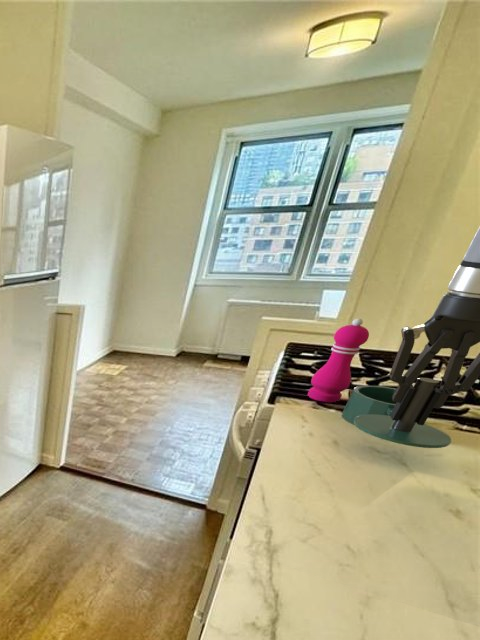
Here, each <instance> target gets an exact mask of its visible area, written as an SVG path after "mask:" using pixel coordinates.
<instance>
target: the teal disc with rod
mask: <svg viewBox="0 0 480 640" xmlns="http://www.w3.org/2000/svg"><path fill="white" fill-rule="evenodd" d="M439 385H440V381H439V380H437V379H433V378H429V377H418V378H417V379H416V380H415V382H414V385H413V387H414V388H415V391H414V393H413V394H412V396H411V398H410V400H409V402H408V403H407V405H406V407H405V409H404V411H403V412H402V414H401V416H400V418H399V420H398V421H395V420H392V418H391V416H387V415H375V414H368V415H360V416H357V417H356V418H355V419H354V424H355V425H354V424H353V425H354V426H355V427H356V428H357V429H359V430H360V431H362V432H364V433H365V434H368V435H370V436H373V437H376V438H377V439H381V440H385V441H387V442H392V443H395V444H399V445H404V446H409V447H414V448H421V449H422V448H424V449H442V448H446V447H448V446H450V445H451V443H452V438H451V436H450V435H448V433H446V432H444V431H442V430H440V429H438V428H436V427H434V426H431V425H428V424H426V423H424V425H418V424H417V423H416V422H417V420H418V419H419V417H420V415H421V413H422V412H423V410H424V408H425V407H426V405H427V403H428V401H429V400H430V398H431V396H432V394H433V393H434V391H435V389H436V388H438V386H439Z"/></svg>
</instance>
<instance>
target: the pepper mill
mask: <svg viewBox="0 0 480 640" xmlns="http://www.w3.org/2000/svg"><path fill="white" fill-rule="evenodd" d="M363 323H364V321H363V319H362V318H354V320H352V322H351V324H347V325H346V324H345V325H343V326H341V327H340V328H338V329H337V330H336V331H335V332H334V335H333V340H334V343H333V344H332V347H331V355H330V356H329V358H328V360H327V362H326V363H325V364H324V365H323V366H322V367H320V368H319V369H318V370H317V371H316V372H314V374H313V376H312V377H311V381H310V383H311V385H312V387H310V388H309V390H308V392H307V397H308V396H309V397H308V398H310V399H311V400H315V401H318V402H321V401H322V403H331V404H334V403H333V402H335V403H337V402H336V401H338V402H340V400H341V398H342V396H343V394H342V393H341V392H343V391H346V390H347V389H348V388H349V387H350V384H351V381H352V374H351V363H352V361H353V359H354V357H355V355H357V354H359V351H360V350H361V346H362V345H364V344H365V343H367V342H368V340H369V337H370V332H369V330H368V329H367V328H366V327H364V326H362V325H363Z"/></svg>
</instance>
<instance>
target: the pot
mask: <svg viewBox="0 0 480 640" xmlns="http://www.w3.org/2000/svg"><path fill="white" fill-rule="evenodd" d="M396 389H397V388H394V387H389V386H384V385H358V386H356V387H354V388H353V389H352V391H351V394H350V396H349V397H348V400H347V402H346V404H345V406H344V408H343V410H342V414H341V417H342V419H343V420H345V421H346V422H348V423H349V424H351V425H353V426H355V424H354V419H355V418H356V417H357V416H360V415H368V414H375V415H387V416H390V414H391V412H392V410H393V408H394V407H395V405H396V403H397V402H394V401H393V399H392V396H393V395H394V393H395V391H396Z"/></svg>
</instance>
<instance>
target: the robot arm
mask: <svg viewBox="0 0 480 640" xmlns="http://www.w3.org/2000/svg"><path fill="white" fill-rule="evenodd" d="M446 288H447V290H449V291H447V292H446V293H444V294H443V295H442V297H441V299H440V300H439V303H438V304H437V306H436V308H435V310H434V312H433V313H432V316H431V317H430V318H429V319H428V320H426V321H425V322H424V323H423V324H421V325H416V326H412V327H410V326H404V327H402V328H401V339H402V340H401V343H400V345H399V348H398V351H397V352H396V353H397V354H396V356H395V358H394V362H393V364H392V367H391V369H390V373H389V374H388V376H389V378H390V380H391V382H393V383H396V384H397V387H396V388H395V389H396V391H395V393H394V395H393V396H392V399H393V401H394V402H397V403H396V405H395V407H394V408H393V410H392V412H391V414H390V416H391V418H392V420H395V421H398V420H399V418H400V416H401V414H402V412H403V411H404V409H405V407H406V405H407V403H408V402H409V400H410V398H411V396H412V394H413V393H414V391H415V388H414V385H413V384H415V383H416V381H417V379H418V378H419V376H421V374H422V373H423V372H424V370H425V369H426V367H428V365H429V364H430V362H431V361H432V360H433V359H434V357H435V356H436V355H438V354H439V353H440V351H441V350H442V349H443V350H445V349H450V350H451V353H450V357H449V359H448V362H447V365H446V368H445V370H444V373H443V375H442V378H441V381H440V383H439V387H437V388H436V389H435V391H434V393H433V394H432V396H431V398H430V400H429V401H428V403H427V405H426V407H425V408H424V410H423V412H422V413H421V415H420V417H419V419H418V420H417V422H416V423H417V424H418V425H424V424H426V421H427V420H428V419H429V416H430V415H431V413H432V411H433V410H434V409H437V410H440V409H441V408H442V407H444V405H445V403H446V401H447V399H448V398H449V396H450V395H453V394H454V393H457V392H461V393H462V392H463V393H466V392H468V391H469V390H470V389H471V388H472V387H473V385H474V384H475V383H476V381H477V380H478V379H479V378H480V352H479V353H478V354H477V355H476V357H475V358H474V359H473V361H472V362H471V363H470V365H469V366H468V367H467V368H466V370H465V371H464V372H463V374H462V375H461V377H460V378H459V376H460V373H461V371H462V368H463V365H464V362H465V359H466V357H467V356H468V354H469V351H470V349H471V348H472V347H473V346H475V345H478V344H479V343H480V226H479V227H478V229H477V231H476V233H475V235H474V237H473V239H472V241H471V243H470V245H469V246H468V248H467V250H466V252H465V254H464V256H463V258H462V260H461V262H460V264H459V266H458V267H457V269H456V271H455V273H454V275H453V277H452V279H451V280H450V282H449V284H448V286H447V287H446ZM422 333H424V334H425V336H426V338H427V340H428V341H427V343H426V344H425V345H424V347H423V350H422V351H421V352H420V353H419V355H418V356H417V357H416V359H415V360H414V361H413V362H412V364H411V365H410V367H409V368H408V369H407V370H406V372H405V369H406V367H407V364H408V361H409V359H410V356H411V353H412V351H413V349H414V345H415V340H417V339H419V338H420V337H421V334H422ZM404 372H405V373H404ZM458 378H459V379H458Z"/></svg>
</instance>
